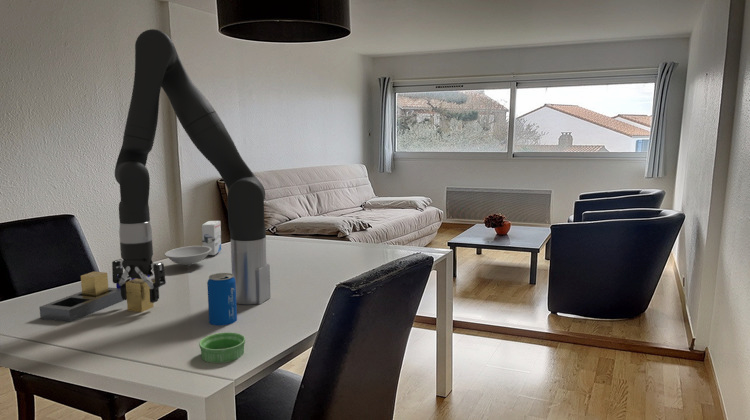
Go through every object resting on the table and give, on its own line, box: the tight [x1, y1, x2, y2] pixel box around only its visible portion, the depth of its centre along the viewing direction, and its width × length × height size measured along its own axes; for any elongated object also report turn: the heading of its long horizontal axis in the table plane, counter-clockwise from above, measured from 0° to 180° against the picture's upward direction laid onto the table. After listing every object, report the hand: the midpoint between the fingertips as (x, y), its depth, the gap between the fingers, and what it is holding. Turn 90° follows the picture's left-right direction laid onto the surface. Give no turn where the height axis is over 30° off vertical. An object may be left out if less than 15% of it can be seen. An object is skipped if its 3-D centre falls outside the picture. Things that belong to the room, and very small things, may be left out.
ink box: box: [201, 220, 222, 256], centre depth 201 cm, size 9×5×12 cm, turn 179°
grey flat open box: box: [39, 286, 125, 323], centre depth 137 cm, size 9×18×4 cm, turn 164°
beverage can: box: [206, 272, 238, 327], centre depth 127 cm, size 6×6×12 cm
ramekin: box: [198, 331, 246, 364], centre depth 107 cm, size 9×9×4 cm
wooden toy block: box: [126, 278, 155, 313], centre depth 137 cm, size 4×4×8 cm
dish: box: [164, 245, 212, 267], centre depth 183 cm, size 18×14×5 cm
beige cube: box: [80, 271, 109, 297], centre depth 140 cm, size 4×4×8 cm
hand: (140, 300), depth 137 cm, fingers open, 8 cm apart
